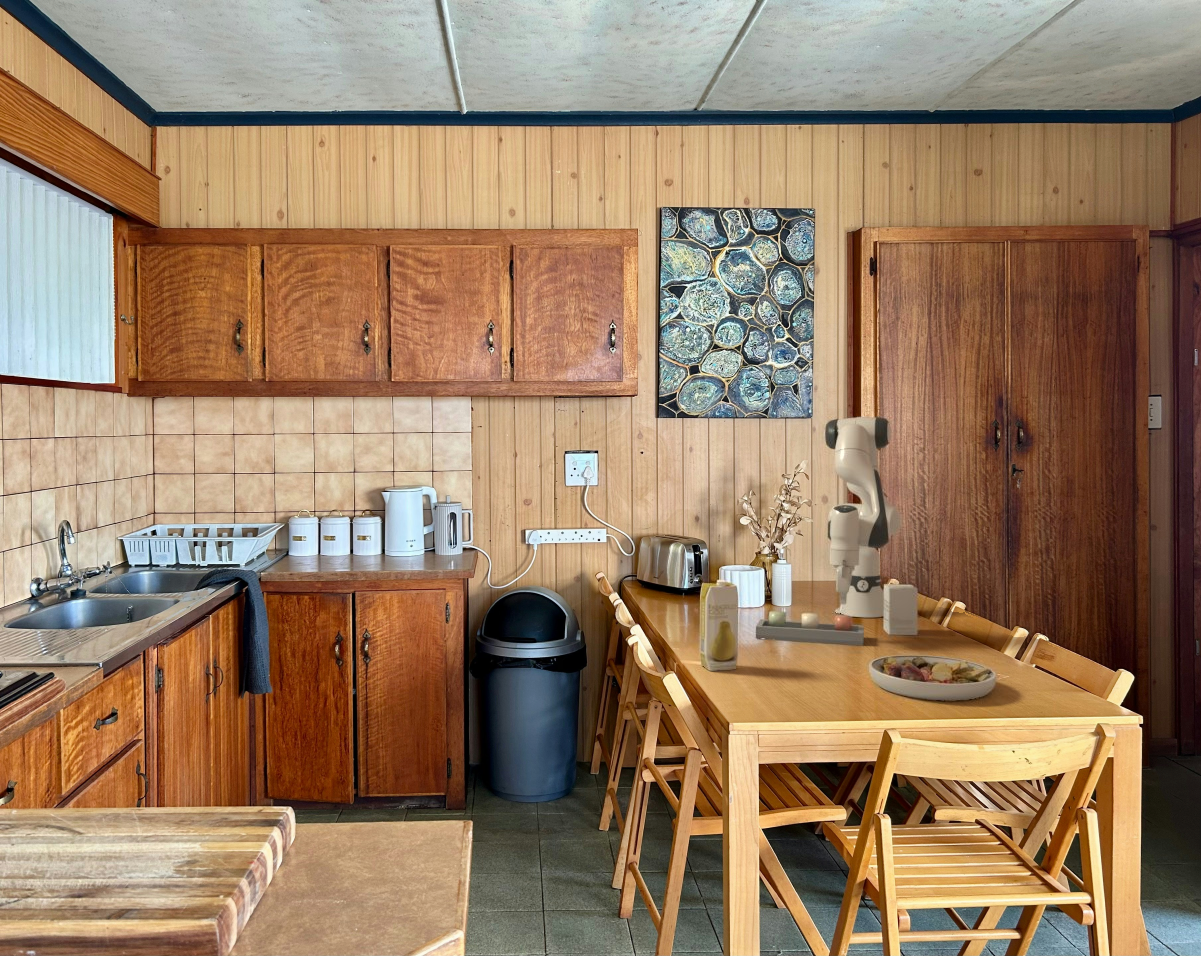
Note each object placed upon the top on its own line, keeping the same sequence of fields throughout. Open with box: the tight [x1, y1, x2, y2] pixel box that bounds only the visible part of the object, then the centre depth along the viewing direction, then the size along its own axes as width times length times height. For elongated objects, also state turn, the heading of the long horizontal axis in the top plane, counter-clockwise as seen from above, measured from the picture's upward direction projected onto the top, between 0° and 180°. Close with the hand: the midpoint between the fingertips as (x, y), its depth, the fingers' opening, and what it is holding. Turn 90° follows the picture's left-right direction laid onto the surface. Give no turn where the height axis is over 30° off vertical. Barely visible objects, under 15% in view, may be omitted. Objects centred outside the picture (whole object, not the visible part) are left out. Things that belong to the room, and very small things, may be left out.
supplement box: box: [883, 583, 919, 636], centre depth 300 cm, size 9×9×15 cm
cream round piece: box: [801, 612, 820, 629], centre depth 291 cm, size 5×5×4 cm
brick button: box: [834, 614, 853, 631], centre depth 288 cm, size 5×5×4 cm
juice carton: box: [699, 579, 739, 672], centre depth 252 cm, size 9×8×24 cm
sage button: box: [768, 610, 787, 627], centre depth 294 cm, size 5×5×4 cm
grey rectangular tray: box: [755, 618, 865, 647], centre depth 291 cm, size 12×32×4 cm, turn 74°
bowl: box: [868, 654, 997, 702], centre depth 235 cm, size 30×30×8 cm
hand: (843, 603), depth 287 cm, fingers closed
